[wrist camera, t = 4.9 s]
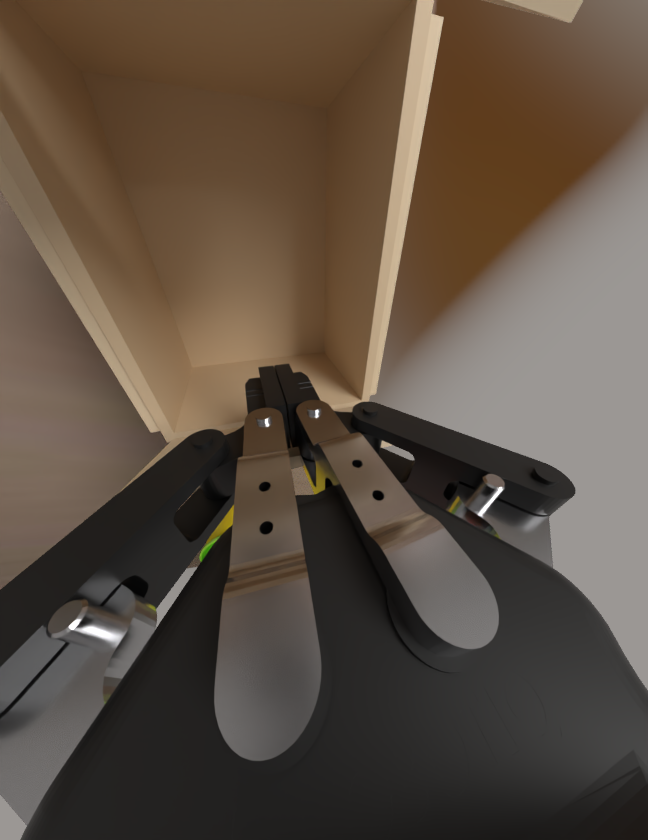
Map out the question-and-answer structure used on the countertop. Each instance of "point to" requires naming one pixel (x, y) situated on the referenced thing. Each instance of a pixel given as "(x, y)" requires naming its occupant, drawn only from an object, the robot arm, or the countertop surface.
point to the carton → (219, 184)
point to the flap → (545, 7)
